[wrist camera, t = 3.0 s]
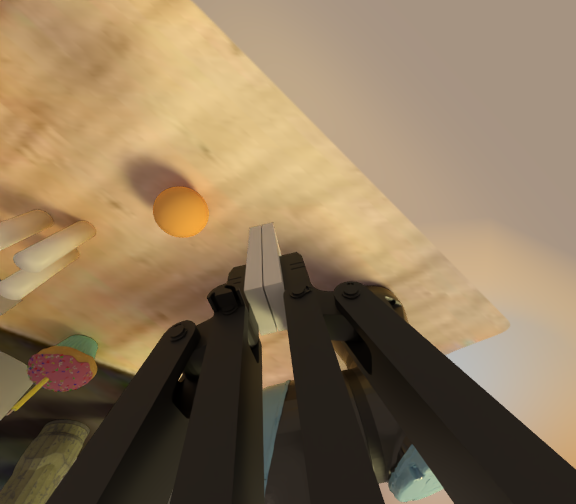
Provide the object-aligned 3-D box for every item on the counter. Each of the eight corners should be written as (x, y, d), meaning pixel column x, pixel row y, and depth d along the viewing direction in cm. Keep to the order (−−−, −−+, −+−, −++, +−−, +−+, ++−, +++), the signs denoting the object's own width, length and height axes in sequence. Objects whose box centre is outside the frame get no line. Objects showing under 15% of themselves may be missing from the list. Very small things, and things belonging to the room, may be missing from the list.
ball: (202, 176, 28) (189, 187, 23) (219, 220, 31) (211, 239, 26) (155, 187, 28) (131, 201, 23) (176, 230, 31) (160, 251, 26)
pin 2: (71, 242, 30) (11, 279, 23) (83, 257, 31) (29, 297, 24) (54, 246, 30) (-12, 284, 23) (66, 261, 31) (7, 302, 24)
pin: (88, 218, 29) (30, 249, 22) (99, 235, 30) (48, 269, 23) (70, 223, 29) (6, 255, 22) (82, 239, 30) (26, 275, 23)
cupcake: (41, 333, 37) (-45, 414, 26) (91, 321, 37) (25, 398, 26) (76, 364, 41) (13, 445, 31) (121, 354, 41) (74, 431, 31)
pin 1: (43, 207, 28) (-33, 236, 20) (57, 225, 29) (-11, 258, 22) (25, 212, 28) (-59, 242, 20) (39, 229, 29) (-35, 264, 22)
